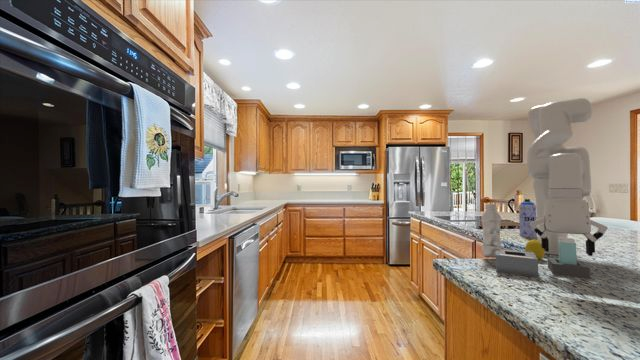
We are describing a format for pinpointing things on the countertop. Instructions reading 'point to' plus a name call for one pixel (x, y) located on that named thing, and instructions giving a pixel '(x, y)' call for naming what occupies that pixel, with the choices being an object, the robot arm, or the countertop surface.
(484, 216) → the plastic bottle
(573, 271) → the grey square socket
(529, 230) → the aerosol can
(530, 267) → the port block
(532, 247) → the lemon
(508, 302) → the countertop surface
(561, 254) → the plug
